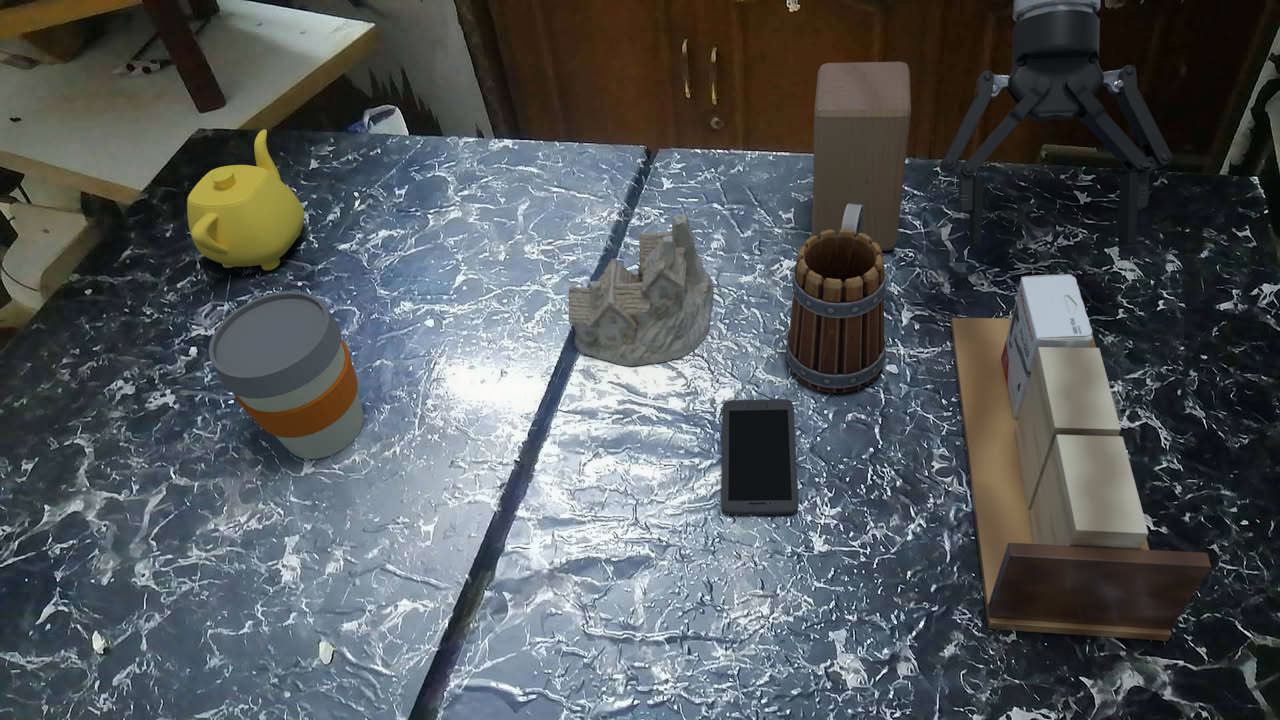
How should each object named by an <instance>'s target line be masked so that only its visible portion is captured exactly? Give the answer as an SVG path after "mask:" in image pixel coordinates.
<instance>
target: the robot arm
mask: <svg viewBox="0 0 1280 720" xmlns="http://www.w3.org/2000/svg"><path fill="white" fill-rule="evenodd" d="M1012 5H1013V6H1012V18H1013V21H1015V22H1016V24H1015V25H1014V27H1013V28H1012V40H1011V41H1012V42H1011V43H1012V44H1011V46H1012V47H1011V70H1010V73H1009V74H1008V75H1007V74H1006V75H1005V74H994V71H991V70H989V69H988V70H984V71H983V72H982V73H981V75H980V76H979V77H978V78H977V80H976V82H975V90H974V98H973V101H972V103H971V105H970V107H969V109H968V110H967V113H966V114H965V116H964V118H963V120H962V122H961V124H960V126H959V128H958V129H957V131H956V133H955V135H954V137H953V139H952V141H951V143H950V145H949V147H948V149H947V151H946V152H945V154H944V156H943V158H942V160H941V161H940V164H939V171H940V172H941V173H943V174H948V175H951V176H953V177H956V179H957V180H958V204H957V205H958V206H957V207H958V210H959V212H960V213H969V220H968V221H969V222H968V223H969V225H968V248H978V247H981V246H982V245H983V214H984V213H983V212H984V175H975V173H976V172H977V171H978V169H980V167H982V165H983V164H984V163H985V162H986V160H987V159H988V158H989V157H990V156H991V155H992V154H993V153H994V151H995V150H996V149H997V148H998V147H999V146H1000V145H1001V144H1002V142H1004V140H1005V139H1006V138H1007V137H1008V136H1009V134H1010V133H1011V132H1012V131H1013V130H1014V129H1015V128H1016V126H1018V124H1019V123H1020V122H1021V121H1022V120H1023V119H1024V118H1025V117H1026V118H1028V119H1030V120H1032V122H1034V123H1036V122H1045V121H1048V120H1052V121H1053V120H1054V121H1059V122H1063V121H1065V122H1067V121H1069V120H1071V119H1074V118H1075V117H1076V118H1077V119H1078V121H1079V122H1080V123H1081V124H1083V126H1086V127H1087V128H1088V129H1089V130H1090V131H1091V132H1092V133H1093V134H1094V135H1095V137H1096V138H1097V140H1099V141H1100V142H1101V143H1102V144H1103V146H1104V147H1105V148H1106V149H1107V150H1108V152H1109V153H1111V154H1112V156H1113V157H1114V158H1115V159H1116V160H1117V161H1118V162H1119V163H1120V165H1121V166H1122V167H1123V168H1124V169H1125V171H1127V172H1128V173H1126V174H1124V175H1122V176H1120V177H1119V186H1118V187H1119V189H1118V190H1119V192H1118V224H1117V225H1118V227H1117V229H1118V230H1117V247H1127V246H1132V245H1137V231H1138V210H1142V209H1146V208H1147V206H1148V204H1149V193H1150V192H1149V191H1150V190H1149V189H1150V175H1151V173H1152V172H1153V171H1154V170H1156V169H1160V168H1162V167H1164V166H1167V165H1169V164H1170V163H1172V161H1173V158H1174V157H1173V154H1172V152H1171V150H1170V148H1169V146H1168V144H1167V142H1166V140H1165V138H1164V136H1163V135H1162V132H1161V131H1160V129H1159V126H1158V125H1157V123H1156V121H1155V119H1154V117H1153V115H1152V113H1151V111H1150V109H1149V107H1148V105H1147V103H1146V101H1145V100H1144V97H1143V96H1142V93H1141V91H1140V90H1139V86H1138V74H1137V73H1138V72H1137V69H1136V67H1135V66H1134V65H1132V64H1127V65H1125V66H1124V67H1122V68H1121V69H1116V70H1115V69H1113V70H1108V71H1103V70H1102V69H1101V66H1100V63H1099V59H1100V29H1101V27H1100V25H1101V20H1100V18H1099V17H1098V15H1097V12H1098V11H1099V10H1100V9H1101V0H1013V4H1012ZM1102 86H1105V88H1107V90H1108V92H1109V93H1110V94H1111V95H1114V96H1115V98H1116V102H1117V104H1118V106H1119V109H1120V110H1121V112H1122V115H1123V116H1124V119H1125V121H1127V124H1128V126H1129V128H1130V130H1131V132H1132V134H1133V136H1134V138H1135V140H1136V142H1137V143H1138V146H1139V147H1138V146H1137V144H1135V143H1134V142H1133V140H1131V138H1130V137H1129V136H1128V135H1127V134H1126V133H1125V132H1124V131H1123V130H1122V128H1121V127H1120V126H1119V125H1118V124H1117V123H1116V122H1115V121H1114V119H1112V117H1111V116H1110V115H1109V114H1108V113H1107V111H1106V110H1105V107H1104V105H1103V104H1102V103H1101V102H1100V101H1099V99H1098V98H1097V97H1096V96H1095V95H1096V93H1097V92H1098V91H1099V90H1100V88H1101V87H1102ZM1004 89H1005V90H1006V92H1007V93H1008V95H1009V96H1010V97H1011V98H1012V100H1013V101H1014V103H1015V104H1016V105H1015V106H1014V107H1013V108H1012V109H1011V110H1010V111H1009V113H1008V114H1007V115H1006V116H1005V118H1004V119H1003V120H1002V121H1001V122H1000V123H999V124H998V126H997V127H995V129H994V130H993V131H992V132H991V133H990V134H989V136H988V137H987V138H986V139H985V140H984V141H983V143H981V145H980V146H979V147H978V148H977V149H976V151H974V153H972V155H971V156H970V157H969V158H968V160H966V162H965V161H962V160H960V158H961V156H962V154H963V152H964V151H965V148H966V146H967V144H968V143H969V141H970V139H971V137H972V135H973V133H974V131H975V129H976V127H977V126H978V124H979V122H980V120H981V118H982V116H983V115H984V113H985V111H986V109H987V107H988V105H989V103H990V100H992V99H995V98H996V97H997V96H998V95H1000V92H1001V90H1004ZM1140 149H1141V150H1140Z"/></svg>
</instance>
